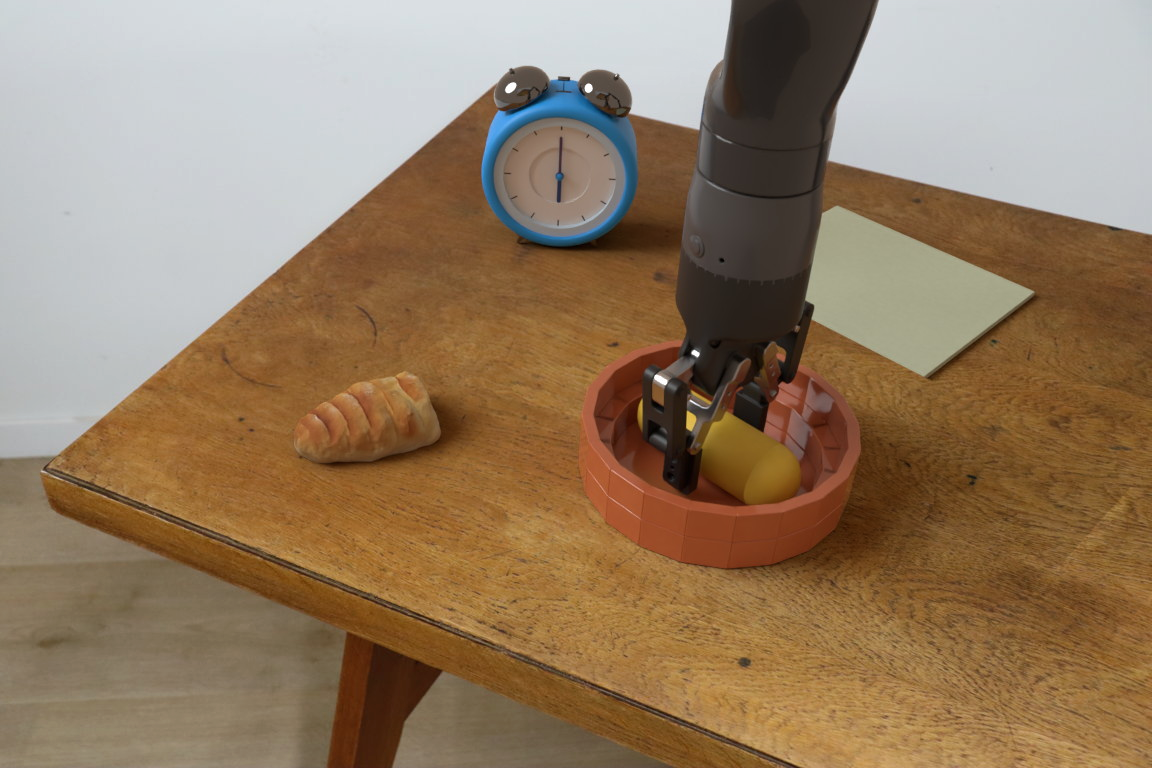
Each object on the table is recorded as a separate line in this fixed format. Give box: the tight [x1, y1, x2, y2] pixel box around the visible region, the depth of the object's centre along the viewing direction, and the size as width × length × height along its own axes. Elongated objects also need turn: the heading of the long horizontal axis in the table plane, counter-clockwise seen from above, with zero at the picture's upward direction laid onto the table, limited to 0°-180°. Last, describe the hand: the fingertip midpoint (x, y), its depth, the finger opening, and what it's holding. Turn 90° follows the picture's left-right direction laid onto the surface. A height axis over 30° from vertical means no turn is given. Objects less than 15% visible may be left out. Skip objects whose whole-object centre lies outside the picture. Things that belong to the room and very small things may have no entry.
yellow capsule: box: [637, 390, 801, 506], centre depth 72 cm, size 12×4×4 cm, turn 45°
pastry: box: [293, 370, 442, 464], centre depth 74 cm, size 9×7×4 cm
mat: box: [805, 205, 1036, 379], centre depth 93 cm, size 20×20×1 cm
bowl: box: [577, 339, 862, 570], centre depth 72 cm, size 18×18×5 cm
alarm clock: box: [480, 65, 639, 248], centre depth 94 cm, size 13×6×15 cm, turn 88°
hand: (713, 462), depth 73 cm, fingers open, 6 cm apart
